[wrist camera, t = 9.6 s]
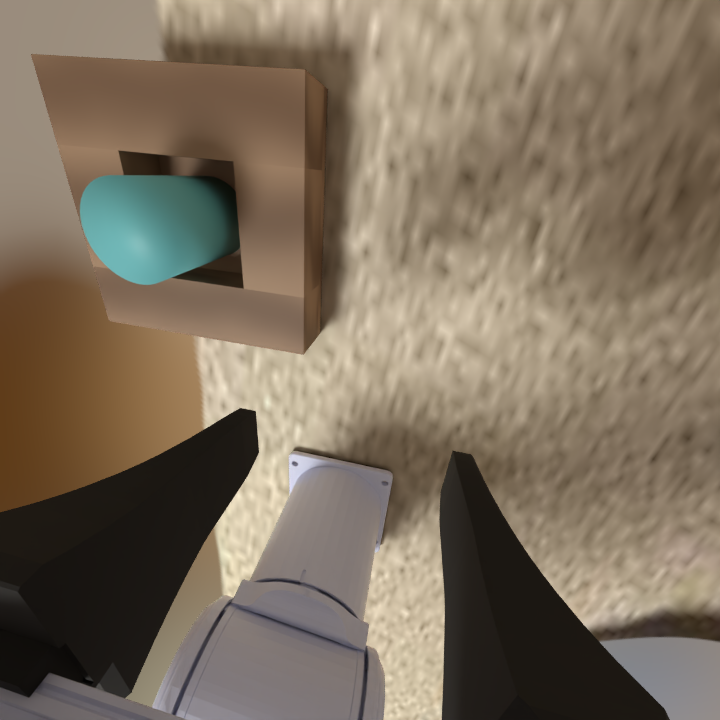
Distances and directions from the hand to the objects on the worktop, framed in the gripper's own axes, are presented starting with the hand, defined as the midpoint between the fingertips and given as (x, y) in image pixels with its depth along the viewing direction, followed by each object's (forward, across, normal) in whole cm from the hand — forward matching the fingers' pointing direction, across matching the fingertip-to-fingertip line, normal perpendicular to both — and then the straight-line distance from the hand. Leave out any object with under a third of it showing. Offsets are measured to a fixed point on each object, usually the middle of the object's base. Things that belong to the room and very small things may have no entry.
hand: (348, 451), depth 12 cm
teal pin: (+9, +10, -6) cm, 15 cm away
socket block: (+9, +10, -6) cm, 15 cm away
